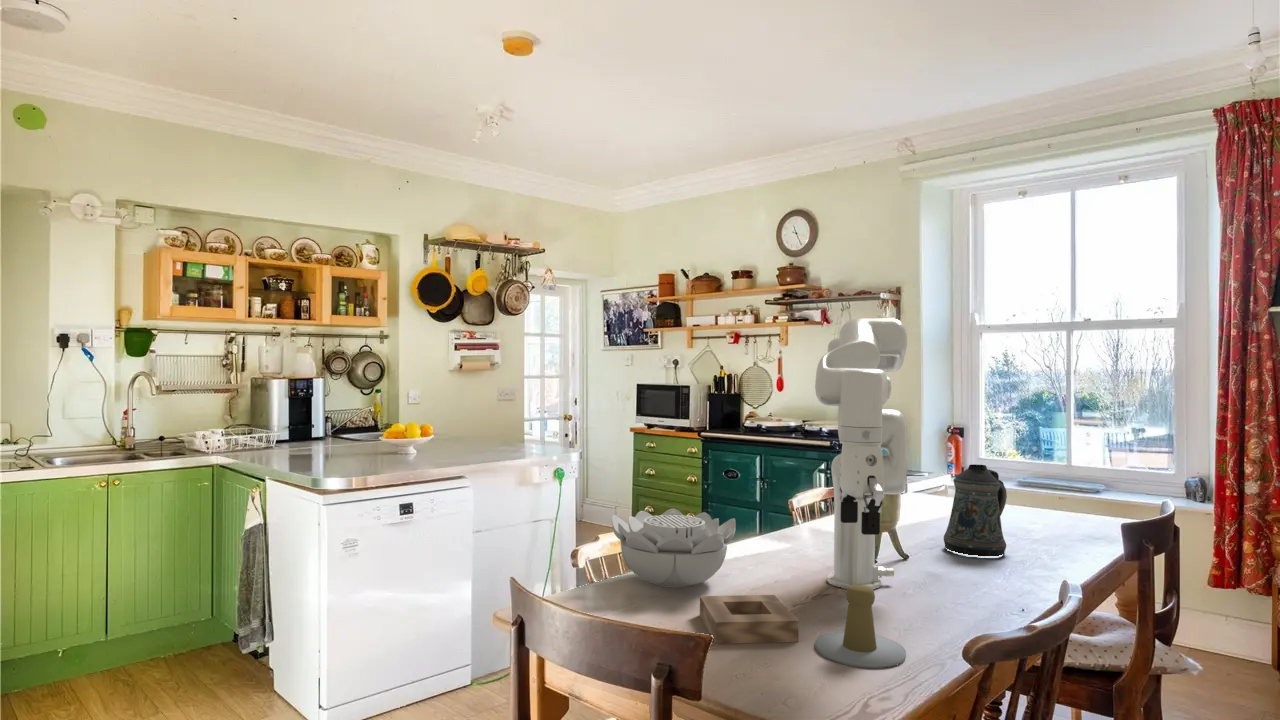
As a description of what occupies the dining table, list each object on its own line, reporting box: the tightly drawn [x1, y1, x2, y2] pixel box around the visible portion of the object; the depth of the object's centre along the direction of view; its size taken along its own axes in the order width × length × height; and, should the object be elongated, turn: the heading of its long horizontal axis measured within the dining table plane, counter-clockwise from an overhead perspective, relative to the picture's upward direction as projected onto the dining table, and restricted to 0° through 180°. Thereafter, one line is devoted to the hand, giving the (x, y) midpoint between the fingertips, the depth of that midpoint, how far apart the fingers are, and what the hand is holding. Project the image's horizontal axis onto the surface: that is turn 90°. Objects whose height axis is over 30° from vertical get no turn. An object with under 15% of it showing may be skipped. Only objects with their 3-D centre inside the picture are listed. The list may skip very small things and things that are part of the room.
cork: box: [843, 585, 877, 652], centre depth 136 cm, size 6×6×11 cm
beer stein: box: [943, 464, 1008, 556], centre depth 215 cm, size 16×19×25 cm
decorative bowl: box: [611, 508, 737, 588], centre depth 178 cm, size 30×30×15 cm
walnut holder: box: [699, 594, 800, 645], centre depth 147 cm, size 16×16×4 cm
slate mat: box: [814, 630, 907, 669], centre depth 136 cm, size 16×16×1 cm
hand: (859, 528), depth 137 cm, fingers open, 9 cm apart
